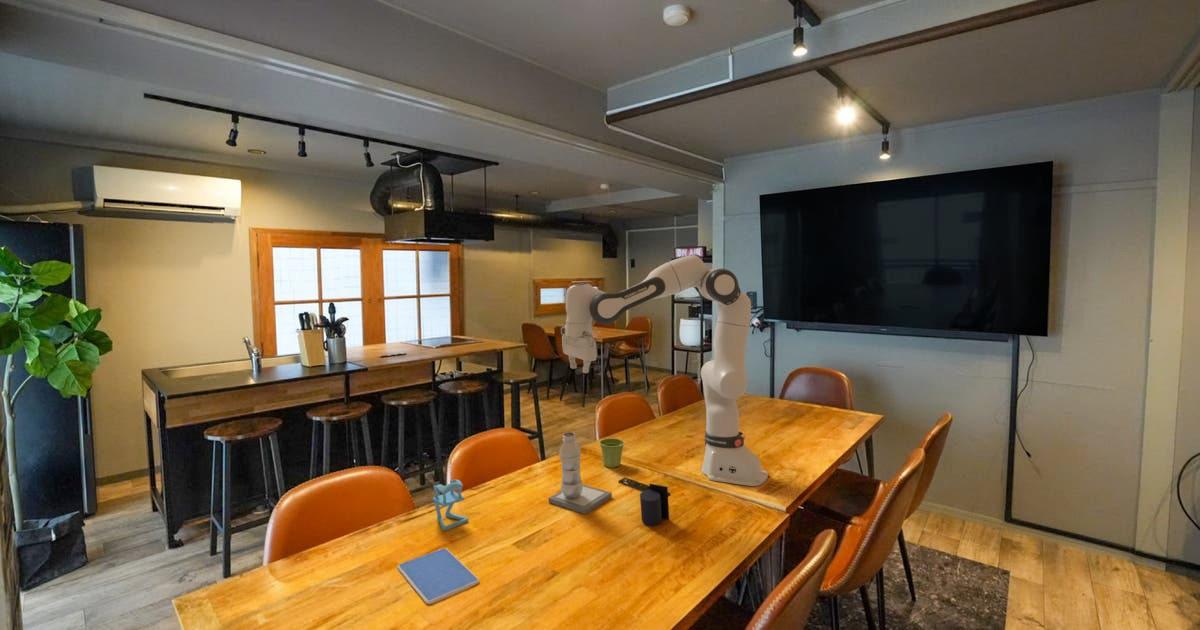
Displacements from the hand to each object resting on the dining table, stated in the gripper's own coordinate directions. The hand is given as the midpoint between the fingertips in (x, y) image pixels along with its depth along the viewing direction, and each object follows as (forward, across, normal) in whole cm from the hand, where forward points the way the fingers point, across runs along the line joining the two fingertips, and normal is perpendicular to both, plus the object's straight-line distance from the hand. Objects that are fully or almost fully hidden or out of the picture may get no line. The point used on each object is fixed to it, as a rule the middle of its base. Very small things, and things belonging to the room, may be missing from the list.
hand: (579, 370), depth 177 cm
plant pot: (+37, +3, -14) cm, 40 cm away
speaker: (+37, -41, -3) cm, 56 cm away
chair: (+37, -12, +48) cm, 62 cm away
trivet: (+37, -18, +9) cm, 42 cm away
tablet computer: (+38, -38, +56) cm, 77 cm away
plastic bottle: (+35, -18, +12) cm, 41 cm away
